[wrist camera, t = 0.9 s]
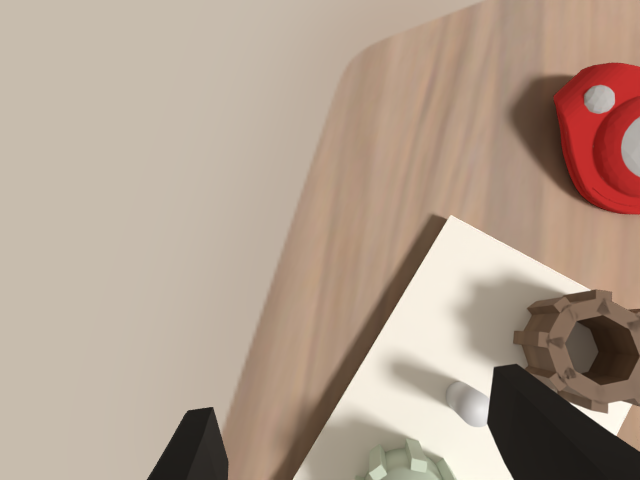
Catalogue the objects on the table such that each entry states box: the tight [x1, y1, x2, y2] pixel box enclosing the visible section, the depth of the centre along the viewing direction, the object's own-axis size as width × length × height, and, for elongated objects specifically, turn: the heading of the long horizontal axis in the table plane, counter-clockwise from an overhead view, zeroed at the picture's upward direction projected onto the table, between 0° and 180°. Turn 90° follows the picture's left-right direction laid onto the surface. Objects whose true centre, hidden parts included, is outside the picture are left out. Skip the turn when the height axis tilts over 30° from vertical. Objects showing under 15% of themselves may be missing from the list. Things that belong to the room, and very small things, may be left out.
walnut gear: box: [513, 290, 640, 414], centre depth 20 cm, size 5×5×4 cm
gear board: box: [293, 215, 632, 480], centre depth 20 cm, size 13×20×6 cm, turn 148°
